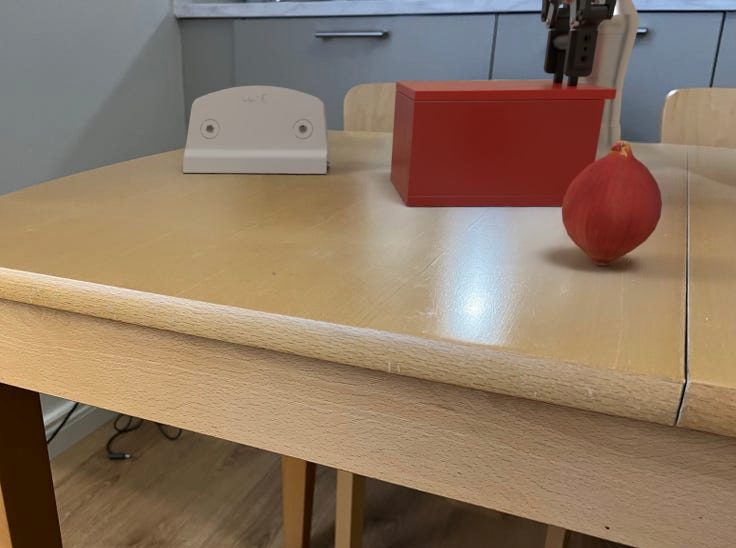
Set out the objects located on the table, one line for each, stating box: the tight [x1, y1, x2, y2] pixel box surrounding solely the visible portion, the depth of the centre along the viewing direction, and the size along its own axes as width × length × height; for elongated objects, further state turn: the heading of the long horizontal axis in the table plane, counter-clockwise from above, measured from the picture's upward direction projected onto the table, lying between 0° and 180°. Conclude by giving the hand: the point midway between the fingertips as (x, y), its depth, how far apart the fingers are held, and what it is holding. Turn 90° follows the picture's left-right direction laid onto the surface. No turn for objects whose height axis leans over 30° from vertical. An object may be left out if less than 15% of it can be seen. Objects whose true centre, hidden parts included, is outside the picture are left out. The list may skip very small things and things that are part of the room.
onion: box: [561, 140, 663, 266], centre depth 48 cm, size 6×6×8 cm
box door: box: [395, 31, 617, 101], centre depth 68 cm, size 17×13×5 cm
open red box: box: [389, 90, 605, 207], centre depth 71 cm, size 16×13×9 cm
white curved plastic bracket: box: [182, 85, 332, 175], centre depth 85 cm, size 17×5×10 cm, turn 83°
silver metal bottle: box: [571, 0, 640, 161], centre depth 82 cm, size 6×7×20 cm
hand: (566, 74), depth 68 cm, fingers closed on box door, 5 cm apart
